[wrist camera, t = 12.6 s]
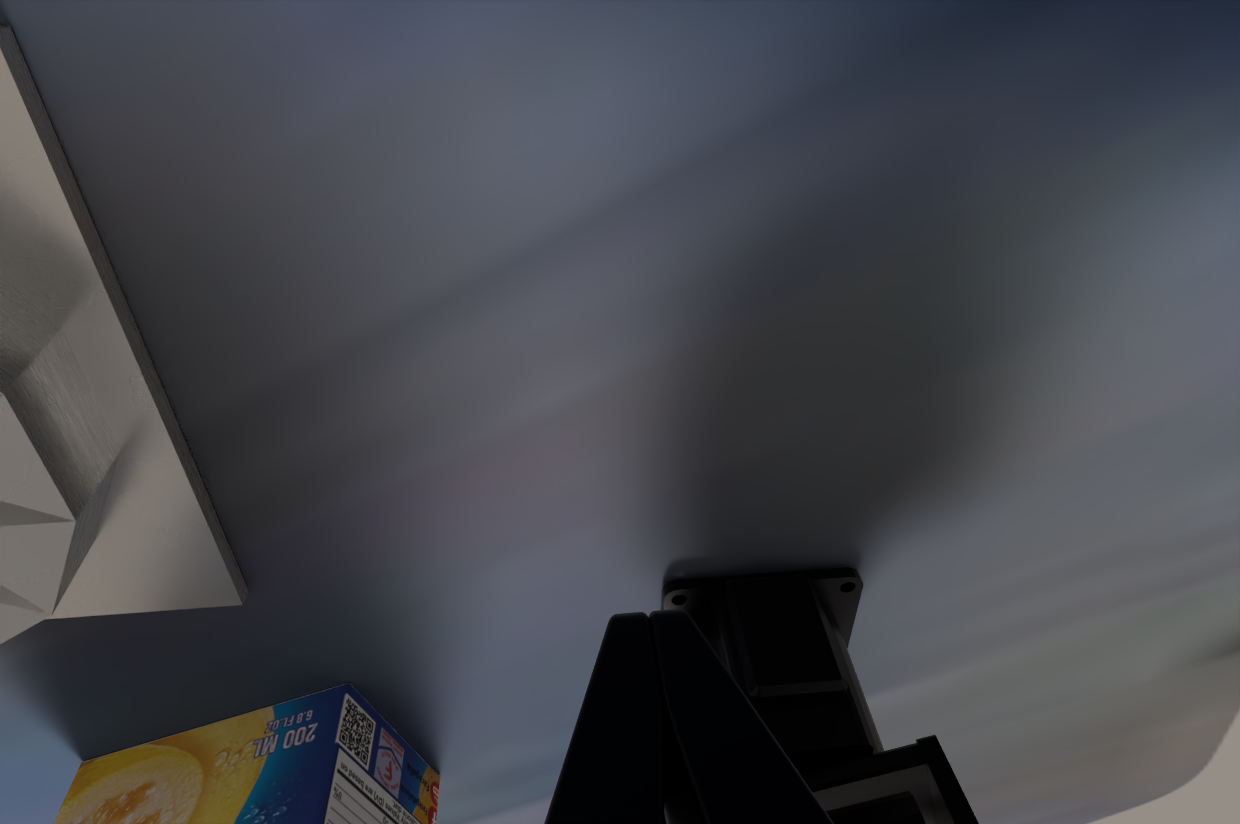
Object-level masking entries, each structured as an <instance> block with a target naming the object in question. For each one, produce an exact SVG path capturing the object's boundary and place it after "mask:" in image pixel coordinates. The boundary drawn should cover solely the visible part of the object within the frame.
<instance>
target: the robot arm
mask: <svg viewBox="0 0 1240 824" xmlns="http://www.w3.org/2000/svg"><path fill="white" fill-rule="evenodd" d="M862 588H863V582H862V579H861V577H860V574H859V572H858V571H857V570H856V569H853V568H833V569H819V570H806V571H792V572H778V573H765V574H751V575H737V576H723V577H710V578H696V579H682V580H675V581H671V582H669V583H667V584H666V585H665V586H664V587H663V590H662V609H661V610H660V611H653V612H651V613H650V615H649V617H648V616H647V615H646V614H645V613H643V612H635V613H623V614H615V615H613V616H612V617H611V618H610V620H609V622H608V625H607V628H606V631H605V635H604V638H603V641H602V644H601V647H600V650H599V653H598V657H597V660H596V663H595V666H594V669H593V672H592V675H591V679H590V682H589V685H588V688H587V691H586V694H585V697H584V701H583V704H582V707H581V710H580V713H579V716H578V719H577V723H576V726H575V729H574V732H573V735H572V738H571V741H570V745H569V748H568V751H567V754H566V757H565V760H564V763H563V767H562V770H561V773H560V776H559V779H558V782H557V786H556V789H555V792H554V795H553V798H552V801H551V804H550V808H549V811H548V814H547V817H546V820H545V823H544V824H979V823H978V821H977V819H976V817H975V815H974V813H973V811H972V809H971V807H970V805H969V803H968V801H967V799H966V797H965V795H964V793H963V791H962V789H961V786H960V784H959V782H958V780H957V778H956V776H955V774H954V772H953V770H952V768H951V766H950V764H949V762H948V760H947V758H946V756H945V754H944V752H943V750H942V748H941V746H940V743H939V741H938V739H937V737H936V736H935V735H932V736H928V737H924V738H920V739H916V742H917V743H915V744H911V745H907V746H903V747H899V748H895V749H891V750H887V751H884V749H883V746H882V743H881V740H880V738H879V735H878V732H877V730H876V727H875V724H874V721H873V719H872V716H871V713H870V710H869V708H868V705H867V702H866V699H865V697H864V694H863V691H862V688H861V686H860V683H859V680H858V678H857V675H856V672H855V669H854V667H853V664H852V661H851V658H850V656H849V653H848V650H847V648H848V644H849V640H850V636H851V632H852V628H853V624H854V620H855V616H856V612H857V608H858V604H859V600H860V596H861V592H862Z"/></svg>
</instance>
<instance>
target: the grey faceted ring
mask: <svg viewBox="0 0 1240 824" xmlns="http://www.w3.org/2000/svg"><path fill="white" fill-rule="evenodd" d="M247 591H248V588H247V586H246V583H245V581H244V579H243V576H242V574H241V572H240V569H239V567H238V565H237V562H236V560H235V557H234V555H233V553H232V550H231V548H230V546H229V543H228V541H227V538H226V536H225V534H224V531H223V529H222V527H221V524H220V522H219V520H218V517H217V515H216V512H215V510H214V508H213V505H212V503H211V501H210V498H209V496H208V493H207V491H206V489H205V486H204V484H203V482H202V479H201V477H200V475H199V472H198V470H197V467H196V465H195V463H194V460H193V458H192V456H191V453H190V451H189V448H188V446H187V444H186V441H185V439H184V437H183V434H182V432H181V430H180V427H179V425H178V422H177V420H176V418H175V415H174V413H173V411H172V408H171V406H170V403H169V401H168V399H167V396H166V394H165V392H164V389H163V387H162V385H161V382H160V380H159V377H158V375H157V373H156V370H155V368H154V366H153V363H152V361H151V358H150V356H149V354H148V351H147V349H146V347H145V344H144V342H143V340H142V337H141V335H140V332H139V330H138V328H137V325H136V323H135V321H134V318H133V316H132V313H131V311H130V309H129V306H128V304H127V302H126V299H125V297H124V295H123V292H122V290H121V287H120V285H119V283H118V280H117V278H116V276H115V273H114V271H113V268H112V266H111V264H110V261H109V259H108V257H107V254H106V252H105V250H104V247H103V245H102V242H101V240H100V238H99V235H98V233H97V231H96V228H95V226H94V223H93V221H92V219H91V216H90V214H89V212H88V209H87V207H86V205H85V202H84V200H83V197H82V195H81V193H80V190H79V188H78V186H77V183H76V181H75V178H74V176H73V174H72V171H71V169H70V167H69V164H68V162H67V160H66V157H65V155H64V152H63V150H62V148H61V145H60V143H59V141H58V138H57V136H56V133H55V131H54V129H53V126H52V124H51V122H50V119H49V117H48V115H47V112H46V110H45V107H44V105H43V103H42V100H41V98H40V96H39V93H38V91H37V89H36V86H35V84H34V81H33V79H32V77H31V74H30V72H29V70H28V67H27V65H26V62H25V60H24V58H23V55H22V53H21V51H20V48H19V46H18V44H17V41H16V39H15V36H14V34H13V32H12V29H11V27H10V26H0V644H2V643H4V642H5V641H7V640H9V639H11V638H12V637H14V636H16V635H18V634H19V633H21V632H23V631H25V630H27V629H28V628H30V627H32V626H34V625H35V624H37V623H39V622H41V621H42V620H44V619H57V618H71V617H84V616H98V615H112V614H126V613H140V612H153V611H167V610H181V609H195V608H209V607H223V606H236V605H243V603H244V600H245V597H246V594H247Z"/></svg>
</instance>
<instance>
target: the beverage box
mask: <svg viewBox="0 0 1240 824" xmlns="http://www.w3.org/2000/svg"><path fill="white" fill-rule="evenodd" d="M439 783H440V776H439V775H438V774H437V773H436V772H435V771H434V770H433V769H432V768H431V767H430V766H429V765H428V764H427V763H426V762H425V761H424V760H423V759H422V758H421V757H420V755H419V754H418V753H417V752H416V751H415V750H414V749H413V748H412V747H411V746H410V745H409V744H408V743H407V742H406V741H405V740H404V739H403V738H402V737H401V736H400V735H399V734H398V733H397V732H396V731H395V730H394V728H393V727H392V726H391V725H390V724H389V723H388V722H387V721H386V720H385V719H384V718H383V717H382V716H381V715H380V714H379V713H378V712H377V711H376V710H375V709H374V708H373V707H372V706H371V705H370V704H369V703H368V701H367V700H366V699H365V698H364V697H363V696H362V695H361V694H360V693H359V692H358V691H357V690H356V689H355V688H354V687H353V686H352V685H351V684H350V683H346V684H343V685H339V686H336V687H333V688H329V689H326V690H323V691H319V692H316V693H312V694H309V695H306V696H302V697H299V698H296V699H292V700H289V701H286V702H282V703H279V704H275V705H272V706H269V707H265V708H262V709H259V710H255V711H252V712H248V713H245V714H242V715H238V716H235V717H232V718H228V719H225V720H222V721H218V722H215V723H211V724H208V725H205V726H201V727H198V728H195V729H191V730H188V731H185V732H181V733H178V734H174V735H171V736H168V737H164V738H161V739H158V740H154V741H151V742H148V743H144V744H141V745H137V746H134V747H131V748H127V749H124V750H121V751H117V752H114V753H111V754H107V755H104V756H100V757H97V758H94V759H90V760H87V761H84V762H82V763H81V765H80V767H79V769H78V771H77V774H76V776H75V778H74V780H73V782H72V784H71V787H70V789H69V791H68V793H67V795H66V798H65V800H64V802H63V804H62V806H61V808H60V811H59V813H58V815H57V817H56V819H55V822H54V824H436V816H437V805H438V794H439Z"/></svg>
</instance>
